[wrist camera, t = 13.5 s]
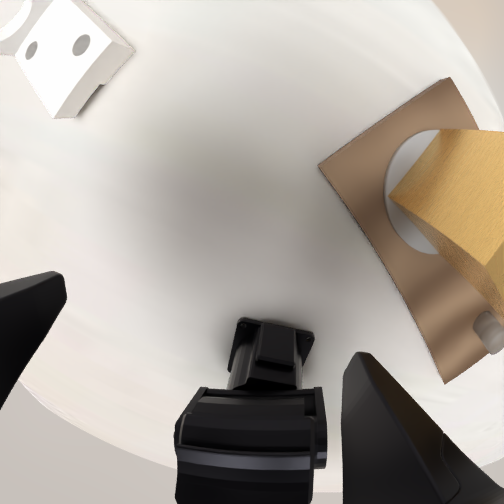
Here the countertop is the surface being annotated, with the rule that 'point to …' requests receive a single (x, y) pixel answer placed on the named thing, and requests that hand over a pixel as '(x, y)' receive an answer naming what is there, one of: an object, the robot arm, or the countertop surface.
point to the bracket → (63, 52)
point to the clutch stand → (408, 235)
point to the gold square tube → (461, 205)
